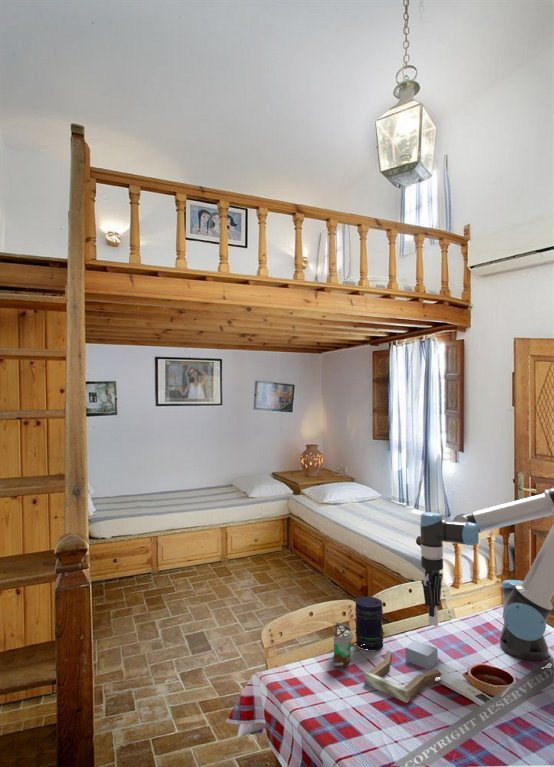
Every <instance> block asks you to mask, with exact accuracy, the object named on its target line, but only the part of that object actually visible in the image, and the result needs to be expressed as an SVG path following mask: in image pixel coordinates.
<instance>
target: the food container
mask: <svg viewBox="0 0 554 767" xmlns="http://www.w3.org/2000/svg"><path fill="white" fill-rule="evenodd" d="M353 640H354V634H353V631H352V628H351V626H349V625H347V624H345V623H342V622H335V632H334V636H333V663H334V665H333V667H334V669H342V668H341V667H343V668H345V666H346V667H348V666H349V665H350V664H349V663H351V655H352V654H351V653H352V651H351V650H352V641H353ZM347 665H348V666H347Z"/></svg>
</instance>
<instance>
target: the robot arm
mask: <svg viewBox="0 0 554 767" xmlns="http://www.w3.org/2000/svg"><path fill="white" fill-rule="evenodd" d="M442 515H443V514H440V513H438V512H433V511H432V512H431V511H430V512H428V511H427V512H423V513H421V515H420V525H419V526H420V528H419V529H420V545H419V547H420V550H421V551H420V553H421V556H420V562H421V563H420V566H421V568H423V569H424V570H425V571H424V579H421V585H422V591H423V598H424V605H425V606H428V625H431V626H433V627H438V626H439V618H438V617H439V616H438V615H439V614H438V607H440V606H441V596H442V595H441V594H442V584H443V583H442V580H443V575H444V574H443V573H441V572H440V571H443V569H444V559H443V557H444V550H443V549H444V547H443V543H452V544H458V545H465V546H478V544H479V538H480V537H479V533H484V532H487V531H491V530H496V529H499V528H504V527H507V526H512V525H516V524H520V523H524V522H525V523H526V522H528V521H533V520H537V519H541V518H545V517H549V516H553V517H554V487H550V488H547V489H544V492H542V493H540V494H536V495H533V496H529V497H525V498H520V499H517V500H514V501H510V502H506V503H501V504H499V505H495V506H491V507H488V508H487V507H486V508H483V509H479V510H475V511H473V512H468V513H460V514H457V515H456V516H454V518H453V520H447V519H446V520H445V519H443V516H442ZM501 584H502V585H501V590H502V609H503V610H502V611H503V612H502V619H503V625H502V629H501V632H500V636H499V646H500V648H501V650H503V651H504V652H505V653H506V654H509V655H512V656H513V657H516V658H519V659H523V660H527V661H544V660H547V658H549V656H550V654H549V653H550V652H549V646H548V644H547V642H546V641H547V640H546V639H545V636H544V635H545V633H546V629H547V624H546V622H547V620H548V618H549V616H550V615H551V613H552V610H553V609H554V607H553V603H552V602H551V600H552V598H553V596H554V523H553V524H552V526H551V528H550V530H549V532H548V534H547V536H546V538H545V540H544V541H543V543H542V546H541V548H540V549H539V550H538V553H537V555H536V557H535V558H534V561H533V563H532V565H531V567H530V568H529V570H528V572H527V574H526V576H525V578H524V580H517V579H506V580H505V579H504V580H503V581H502V582H501Z"/></svg>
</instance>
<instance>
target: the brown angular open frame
mask: <svg viewBox="0 0 554 767" xmlns="http://www.w3.org/2000/svg"><path fill="white" fill-rule="evenodd" d="M392 658H393V657H392V651H391V650H390V651H389V650H386V653H385V656H384V660H383V661H381V662H380V663H378V664H377V665H376V666H374V667H373V668H372V669H370V670H369V671H367V670H366V671H365V672H364V673H363V674H364V684H365V685H367V686H369V687H371V688H373V689H376V690H378V691H380V692H382V693H384V694H386V695H388V696H391V697H392V698H395V699H398V700H400V701H401V702H404V703H406V704H408V702H410V701H411V700H412V699H413V698H414V697H415V696H416V695H417V694H418V693H419V692H420V691H421V690H423V688H424V687H425V686H427V685H430V684H434V683H437V682H436V681H435V678H436V677H440V676H441V677H442V673H441V671H440V670H439V669H438V668H436V669H432V670H430V671H426V672H422V673H419V674H417V675H416V676H415V677H413V679H412V680H410V681H409V682H408V683H407V684H406V685H405V686H402V685H399V684H397V683H395V682H393V681H390V680H388V679H386V678H383V677H384V676H385V675H386V674H387V673H389V672H390V670H391V664H392V660H393V659H392Z"/></svg>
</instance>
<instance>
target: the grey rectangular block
mask: <svg viewBox="0 0 554 767" xmlns="http://www.w3.org/2000/svg"><path fill="white" fill-rule="evenodd" d="M404 650H405V661H406V662H409V663H411V664H413V665H415V666H418V667H420V668H423V669H425V670H427V671H428V670H430V669H431V668H432V667H433V666H435V665H436V664H437V663H439V657H438V656H439V655H438V654H439V653H438V651H439V650H438V647H435V646H432V645H430V644H427V643H425V642H422V641H419V640H414V641H412V642H411V643H409V644H408V645H406V646H405V648H404Z"/></svg>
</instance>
